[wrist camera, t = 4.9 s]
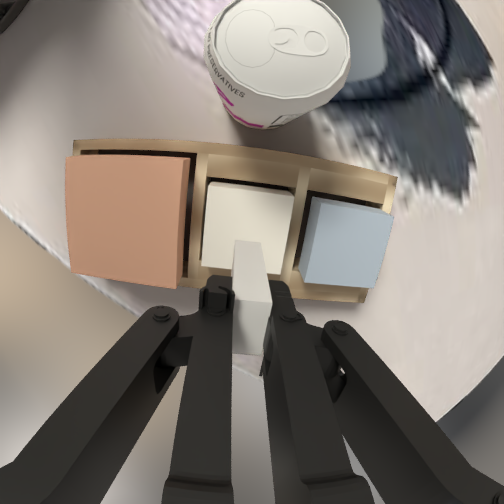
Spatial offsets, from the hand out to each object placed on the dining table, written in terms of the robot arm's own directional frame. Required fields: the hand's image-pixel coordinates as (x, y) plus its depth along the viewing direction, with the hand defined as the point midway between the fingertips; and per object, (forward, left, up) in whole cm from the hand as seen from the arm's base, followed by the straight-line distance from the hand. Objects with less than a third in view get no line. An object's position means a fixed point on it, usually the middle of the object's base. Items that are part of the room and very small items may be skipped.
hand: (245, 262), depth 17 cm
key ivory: (0, 0, -11) cm, 11 cm away
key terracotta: (0, -11, -10) cm, 15 cm away
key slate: (0, +9, -10) cm, 14 cm away
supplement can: (-13, 0, -13) cm, 18 cm away
